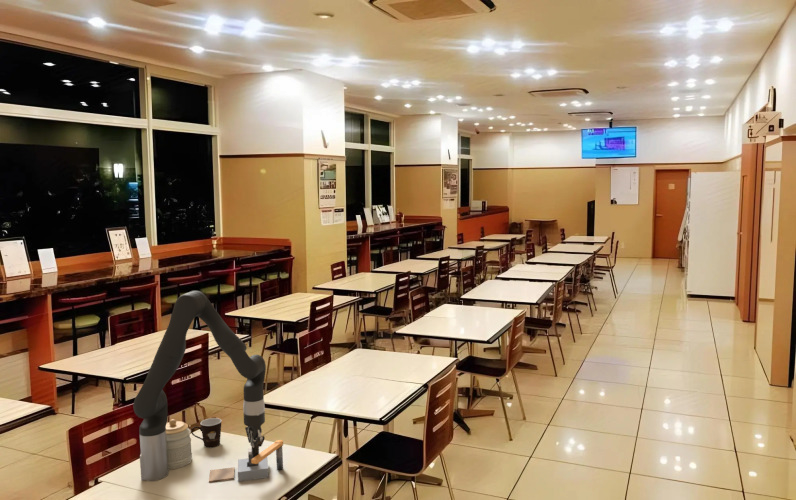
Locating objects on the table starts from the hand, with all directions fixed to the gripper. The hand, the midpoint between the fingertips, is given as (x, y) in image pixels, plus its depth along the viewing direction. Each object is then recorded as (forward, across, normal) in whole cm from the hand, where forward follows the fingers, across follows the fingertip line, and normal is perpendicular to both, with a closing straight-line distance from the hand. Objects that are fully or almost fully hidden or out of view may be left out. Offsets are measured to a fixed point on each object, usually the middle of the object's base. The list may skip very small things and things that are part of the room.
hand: (255, 455), depth 224 cm
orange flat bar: (0, 0, +5) cm, 5 cm away
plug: (+10, -8, +2) cm, 13 cm away
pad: (+10, -13, -8) cm, 18 cm away
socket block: (+10, -8, +2) cm, 13 cm away
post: (+10, -4, +11) cm, 16 cm away
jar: (+11, -35, -19) cm, 42 cm away
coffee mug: (+11, -44, -3) cm, 45 cm away
